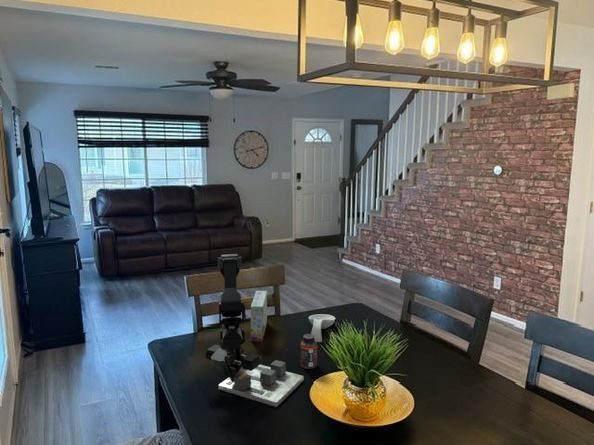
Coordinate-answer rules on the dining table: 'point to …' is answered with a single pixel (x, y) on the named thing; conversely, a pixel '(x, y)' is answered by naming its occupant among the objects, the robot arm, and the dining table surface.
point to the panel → (264, 386)
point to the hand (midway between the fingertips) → (233, 381)
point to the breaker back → (278, 367)
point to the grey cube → (242, 381)
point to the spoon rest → (320, 324)
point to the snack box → (258, 315)
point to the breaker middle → (268, 376)
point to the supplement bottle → (308, 352)
